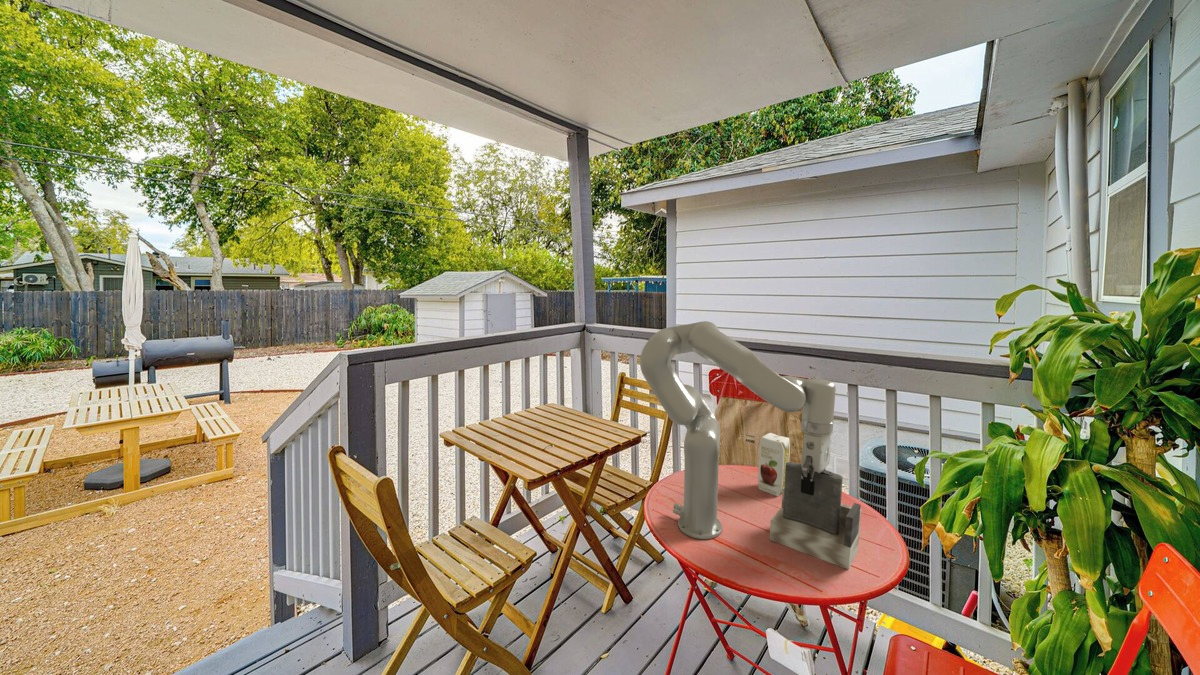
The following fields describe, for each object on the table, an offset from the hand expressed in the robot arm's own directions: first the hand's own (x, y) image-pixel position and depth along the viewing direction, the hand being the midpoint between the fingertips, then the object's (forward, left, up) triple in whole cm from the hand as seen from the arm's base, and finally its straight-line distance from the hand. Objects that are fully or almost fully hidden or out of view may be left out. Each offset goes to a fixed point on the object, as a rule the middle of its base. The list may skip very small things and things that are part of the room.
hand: (812, 486), depth 124 cm
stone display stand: (+1, 0, -17) cm, 17 cm away
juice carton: (-19, +24, -17) cm, 35 cm away
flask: (0, 0, -11) cm, 11 cm away
